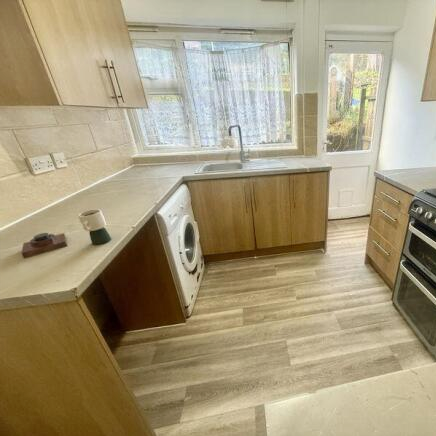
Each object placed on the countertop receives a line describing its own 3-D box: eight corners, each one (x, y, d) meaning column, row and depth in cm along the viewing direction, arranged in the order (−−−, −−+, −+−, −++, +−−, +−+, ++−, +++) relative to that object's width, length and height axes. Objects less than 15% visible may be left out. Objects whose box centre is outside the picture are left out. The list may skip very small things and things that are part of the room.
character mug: (99, 237, 102) (86, 208, 96) (118, 234, 103) (106, 206, 97) (84, 250, 92) (69, 219, 86) (105, 248, 93) (92, 217, 87)
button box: (24, 258, 88) (18, 248, 86) (26, 248, 94) (21, 239, 93) (67, 246, 95) (63, 237, 93) (66, 237, 102) (62, 229, 100)
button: (35, 242, 91) (33, 238, 90) (35, 239, 93) (33, 235, 93) (49, 239, 93) (47, 235, 92) (49, 235, 96) (48, 231, 95)
